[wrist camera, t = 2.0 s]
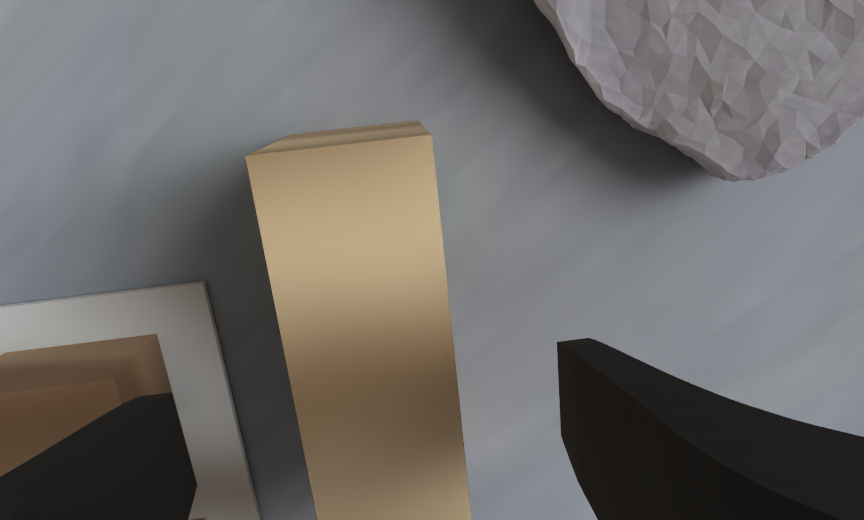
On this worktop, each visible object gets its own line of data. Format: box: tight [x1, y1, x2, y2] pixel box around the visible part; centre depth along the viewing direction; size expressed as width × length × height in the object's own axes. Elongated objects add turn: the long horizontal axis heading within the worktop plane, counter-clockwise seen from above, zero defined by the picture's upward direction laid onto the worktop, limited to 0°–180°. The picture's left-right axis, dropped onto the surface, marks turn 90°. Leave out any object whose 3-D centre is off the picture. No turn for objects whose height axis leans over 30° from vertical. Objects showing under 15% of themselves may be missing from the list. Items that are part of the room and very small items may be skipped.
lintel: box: [245, 120, 472, 520], centre depth 14 cm, size 10×3×5 cm, turn 6°
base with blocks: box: [0, 281, 261, 520], centre depth 15 cm, size 11×7×3 cm, turn 6°
